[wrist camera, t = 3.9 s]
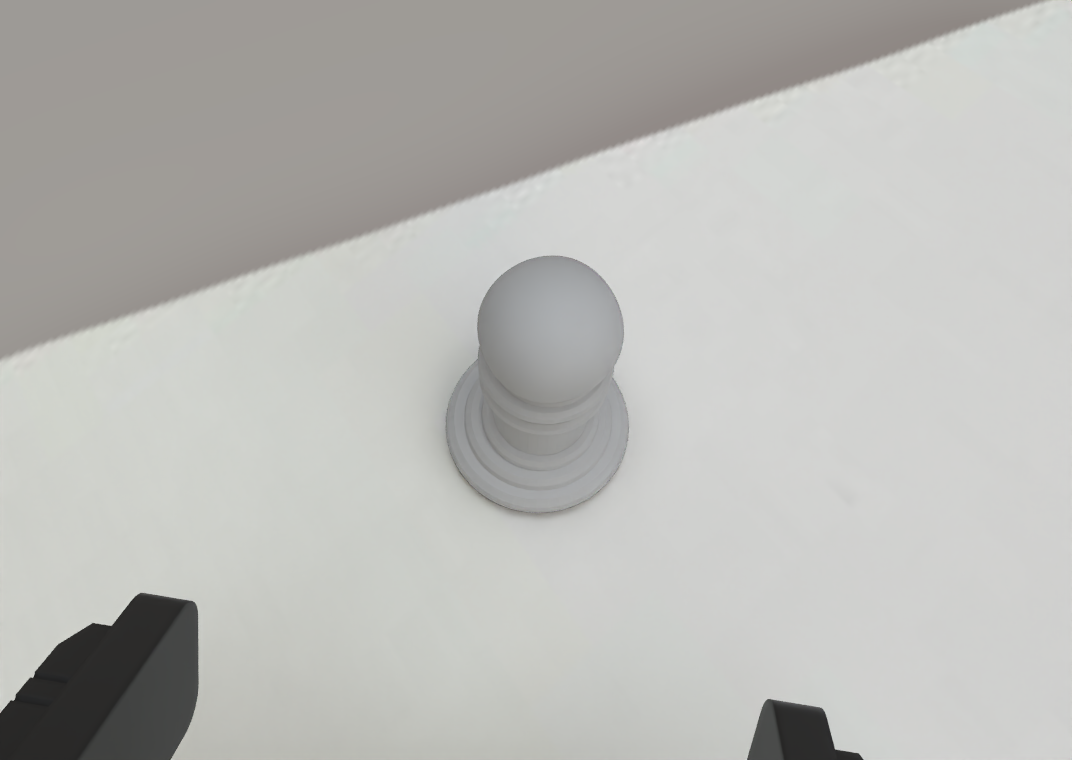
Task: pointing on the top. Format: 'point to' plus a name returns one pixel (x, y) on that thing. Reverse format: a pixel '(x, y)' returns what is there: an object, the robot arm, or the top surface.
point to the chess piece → (542, 389)
